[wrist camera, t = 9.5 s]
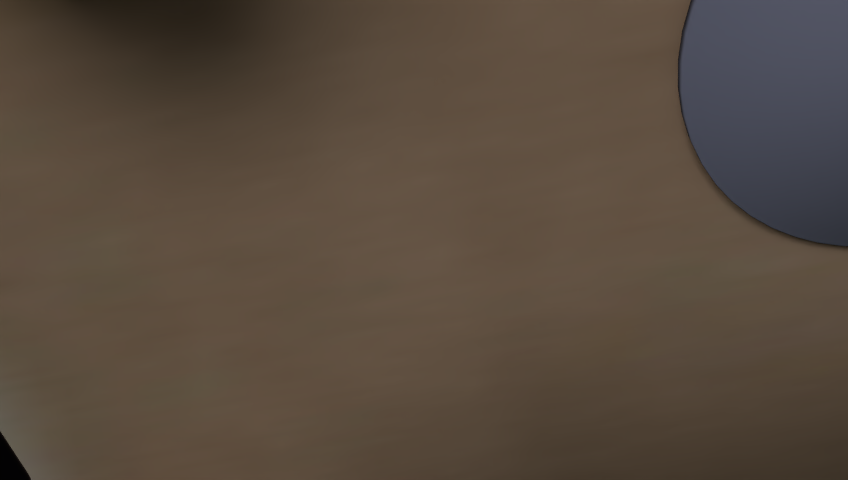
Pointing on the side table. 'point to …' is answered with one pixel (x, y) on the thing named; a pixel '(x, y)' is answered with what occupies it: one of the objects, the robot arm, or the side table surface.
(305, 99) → the side table surface
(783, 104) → the coaster
